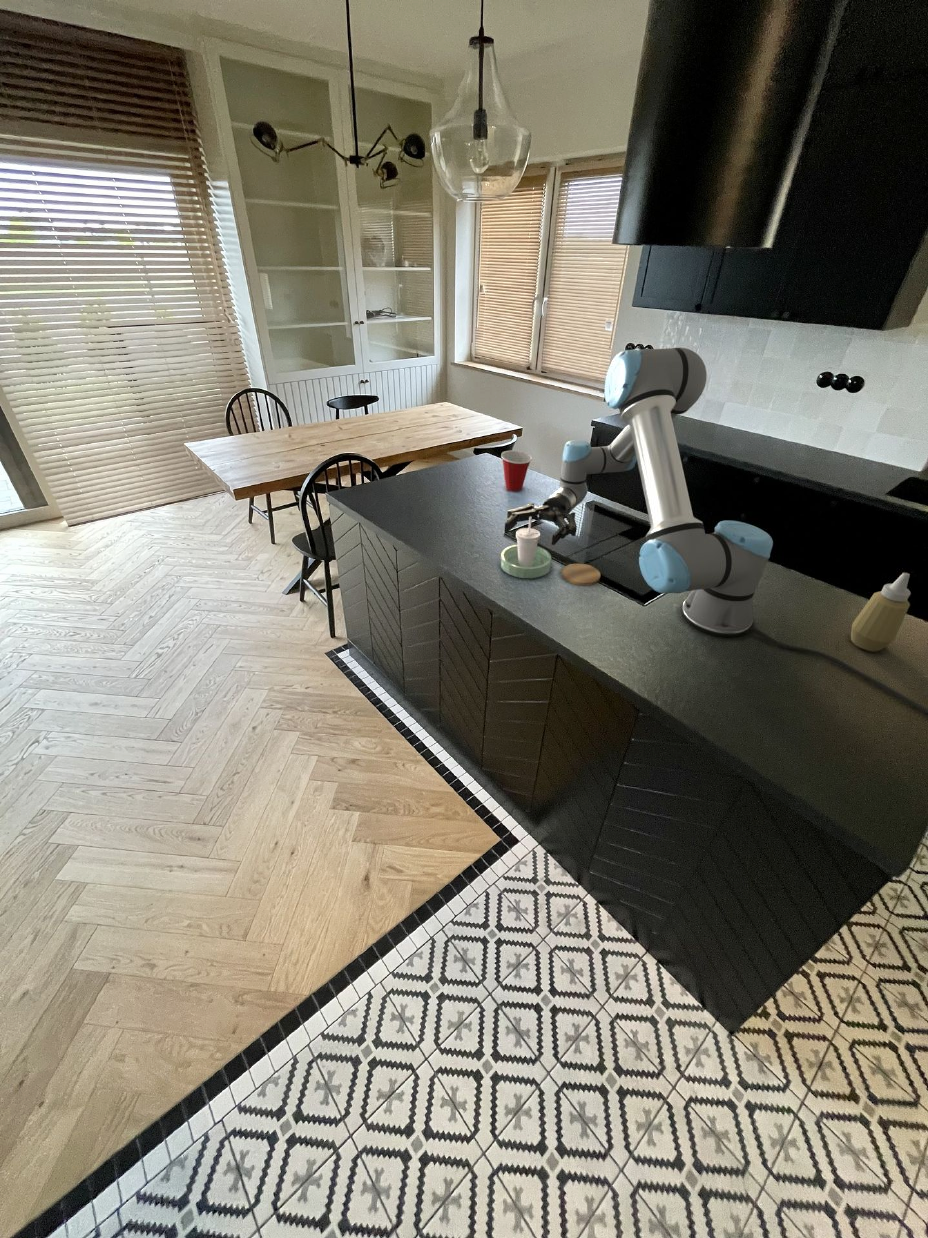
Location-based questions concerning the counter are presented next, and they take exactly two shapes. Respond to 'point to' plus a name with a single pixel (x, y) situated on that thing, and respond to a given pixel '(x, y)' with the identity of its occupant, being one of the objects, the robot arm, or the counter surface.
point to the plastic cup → (515, 468)
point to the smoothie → (527, 545)
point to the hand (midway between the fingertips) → (529, 534)
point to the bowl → (512, 567)
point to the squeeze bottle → (882, 616)
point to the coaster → (581, 574)
